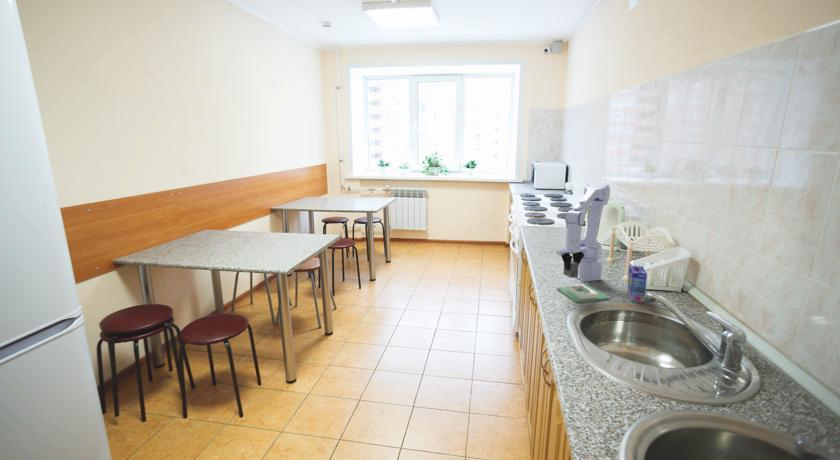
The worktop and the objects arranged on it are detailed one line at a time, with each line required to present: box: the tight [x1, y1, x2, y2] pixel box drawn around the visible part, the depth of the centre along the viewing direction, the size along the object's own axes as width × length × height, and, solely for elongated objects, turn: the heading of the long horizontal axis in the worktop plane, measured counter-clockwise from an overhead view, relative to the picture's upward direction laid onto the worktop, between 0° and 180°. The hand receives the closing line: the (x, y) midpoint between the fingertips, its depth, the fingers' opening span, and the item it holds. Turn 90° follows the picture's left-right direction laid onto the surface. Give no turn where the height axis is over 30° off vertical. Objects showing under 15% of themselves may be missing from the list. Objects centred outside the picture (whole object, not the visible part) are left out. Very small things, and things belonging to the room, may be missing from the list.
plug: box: [563, 259, 579, 279], centre depth 172 cm, size 4×6×6 cm, turn 18°
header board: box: [556, 283, 611, 304], centre depth 170 cm, size 15×15×3 cm
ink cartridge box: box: [627, 262, 648, 303], centre depth 164 cm, size 10×6×14 cm, turn 161°
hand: (571, 269), depth 173 cm, fingers closed on plug, 3 cm apart
